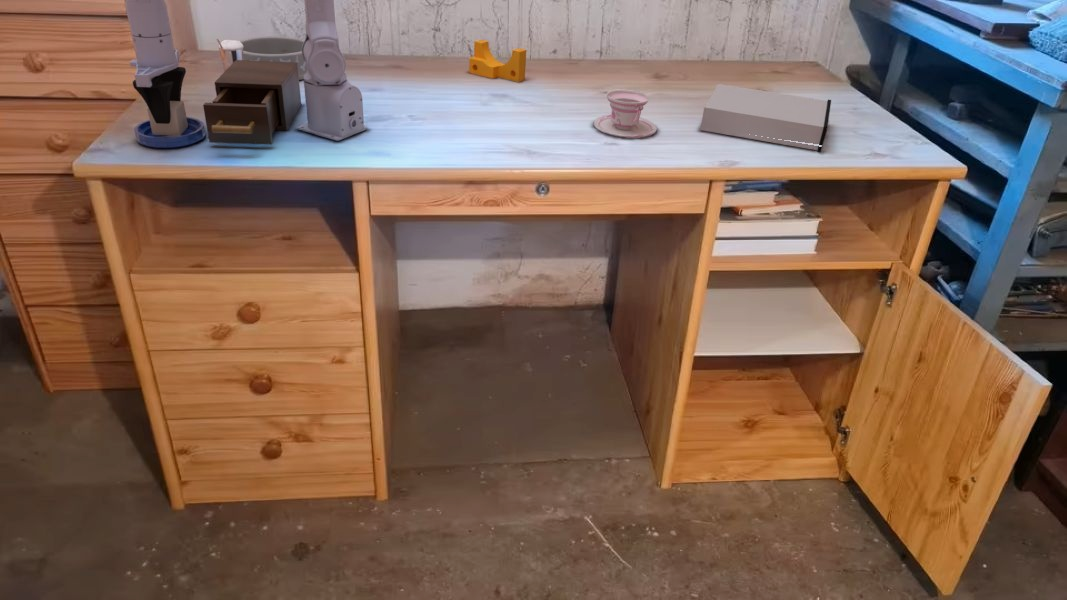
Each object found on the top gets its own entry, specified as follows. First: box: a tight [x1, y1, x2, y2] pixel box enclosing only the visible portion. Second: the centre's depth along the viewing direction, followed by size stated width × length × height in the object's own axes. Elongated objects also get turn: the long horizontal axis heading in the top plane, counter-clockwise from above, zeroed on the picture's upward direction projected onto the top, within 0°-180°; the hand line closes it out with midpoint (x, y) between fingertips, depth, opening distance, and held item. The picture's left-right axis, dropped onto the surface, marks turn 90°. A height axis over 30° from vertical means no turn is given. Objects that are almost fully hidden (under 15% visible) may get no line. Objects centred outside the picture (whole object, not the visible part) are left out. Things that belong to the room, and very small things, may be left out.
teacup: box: [593, 88, 658, 138], centre depth 147 cm, size 12×12×6 cm
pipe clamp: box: [468, 39, 527, 83], centre depth 171 cm, size 12×4×6 cm, turn 58°
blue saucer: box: [134, 116, 207, 149], centre depth 130 cm, size 11×11×2 cm
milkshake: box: [216, 38, 244, 72], centre depth 153 cm, size 4×5×10 cm
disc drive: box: [699, 83, 832, 153], centre depth 152 cm, size 18×22×5 cm
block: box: [146, 100, 188, 136], centre depth 129 cm, size 4×4×4 cm
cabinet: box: [214, 60, 302, 131], centre depth 140 cm, size 14×11×8 cm
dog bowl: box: [239, 35, 308, 81], centre depth 166 cm, size 17×18×5 cm
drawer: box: [202, 87, 281, 145], centre depth 131 cm, size 17×10×6 cm, turn 4°
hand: (168, 117), depth 129 cm, fingers closed on block, 4 cm apart
